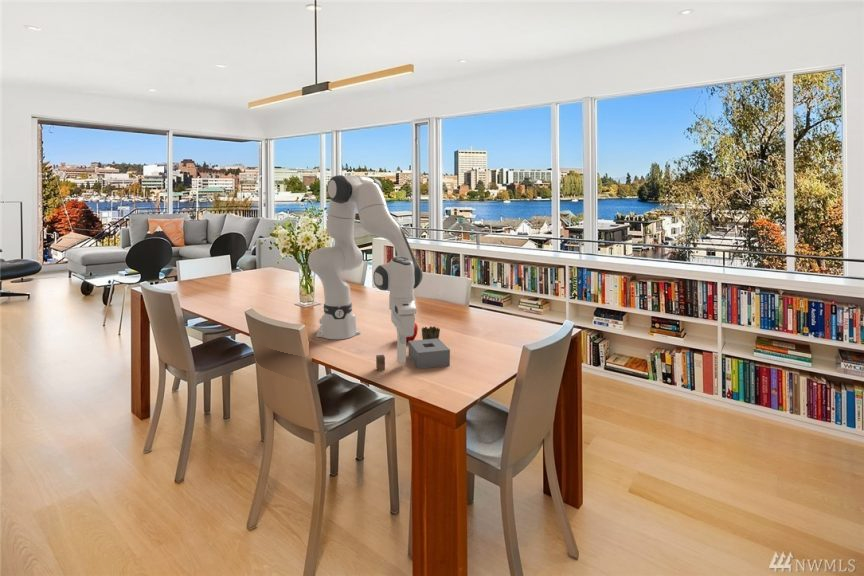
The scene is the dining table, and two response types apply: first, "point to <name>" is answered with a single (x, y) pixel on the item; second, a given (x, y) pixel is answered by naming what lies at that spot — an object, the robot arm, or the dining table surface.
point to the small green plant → (430, 333)
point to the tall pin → (400, 349)
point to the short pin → (380, 362)
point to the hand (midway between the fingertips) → (401, 341)
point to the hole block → (429, 353)
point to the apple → (413, 334)
